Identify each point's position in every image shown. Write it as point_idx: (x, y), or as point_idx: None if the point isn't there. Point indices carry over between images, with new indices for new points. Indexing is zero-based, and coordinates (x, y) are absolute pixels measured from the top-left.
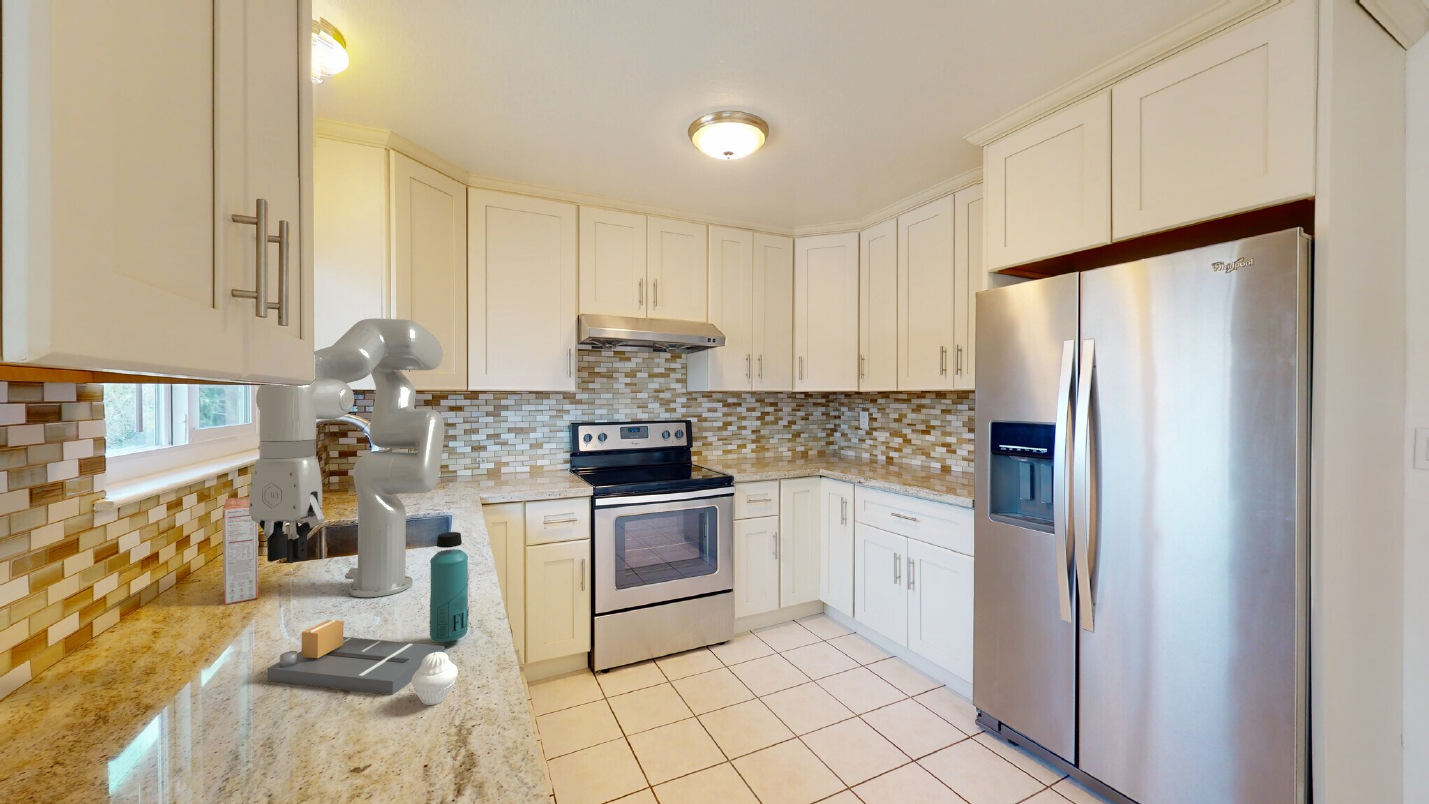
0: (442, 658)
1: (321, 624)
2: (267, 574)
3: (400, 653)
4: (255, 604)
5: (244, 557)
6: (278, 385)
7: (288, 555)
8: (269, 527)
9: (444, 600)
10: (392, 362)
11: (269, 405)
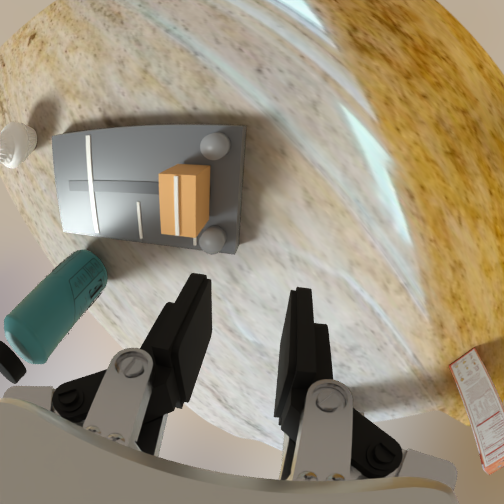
0: None
1: (188, 215)
2: (459, 405)
3: (89, 205)
4: (445, 355)
5: (478, 402)
6: None
7: (188, 291)
8: (311, 436)
9: (43, 280)
10: None
11: None
